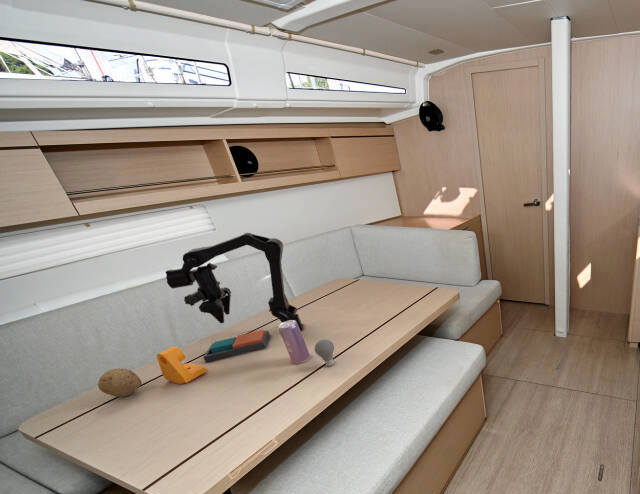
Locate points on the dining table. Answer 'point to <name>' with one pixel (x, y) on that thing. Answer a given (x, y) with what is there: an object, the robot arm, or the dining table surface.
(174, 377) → the bracket
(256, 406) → the dining table surface
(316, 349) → the light bulb
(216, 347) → the teal pad
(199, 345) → the dining table surface
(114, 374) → the potato
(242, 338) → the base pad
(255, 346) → the pad tray
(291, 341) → the beverage can
